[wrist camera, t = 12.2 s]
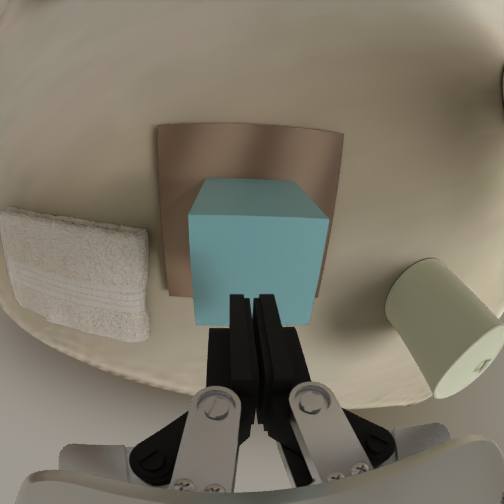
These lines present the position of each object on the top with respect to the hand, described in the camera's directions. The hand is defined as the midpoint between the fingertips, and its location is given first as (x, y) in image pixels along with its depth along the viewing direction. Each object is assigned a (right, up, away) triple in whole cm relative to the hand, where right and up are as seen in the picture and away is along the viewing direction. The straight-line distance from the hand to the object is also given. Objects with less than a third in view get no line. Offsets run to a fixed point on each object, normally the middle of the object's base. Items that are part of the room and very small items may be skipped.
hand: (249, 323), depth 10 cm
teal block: (0, +5, +10) cm, 11 cm away
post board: (0, +6, +10) cm, 12 cm away
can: (+19, -2, +16) cm, 24 cm away
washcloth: (-18, +1, +12) cm, 22 cm away
